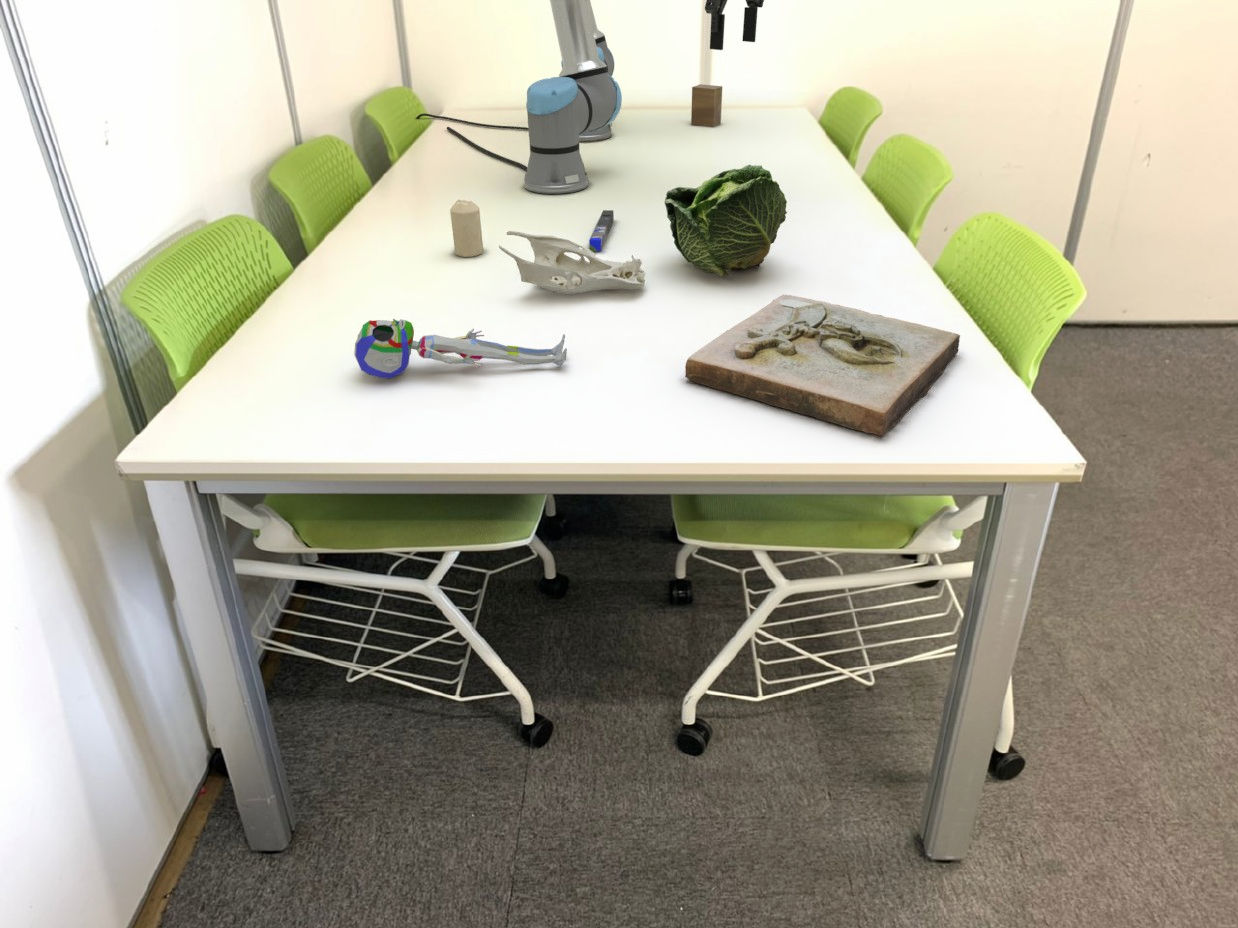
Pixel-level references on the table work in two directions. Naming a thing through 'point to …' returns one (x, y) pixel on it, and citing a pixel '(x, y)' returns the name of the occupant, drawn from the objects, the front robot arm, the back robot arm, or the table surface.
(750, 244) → the vegetable
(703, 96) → the block
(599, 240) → the blue capped marker
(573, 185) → the front robot arm
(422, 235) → the table surface
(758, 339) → the plaque
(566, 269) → the anatomical model
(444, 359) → the toy
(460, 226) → the candle
